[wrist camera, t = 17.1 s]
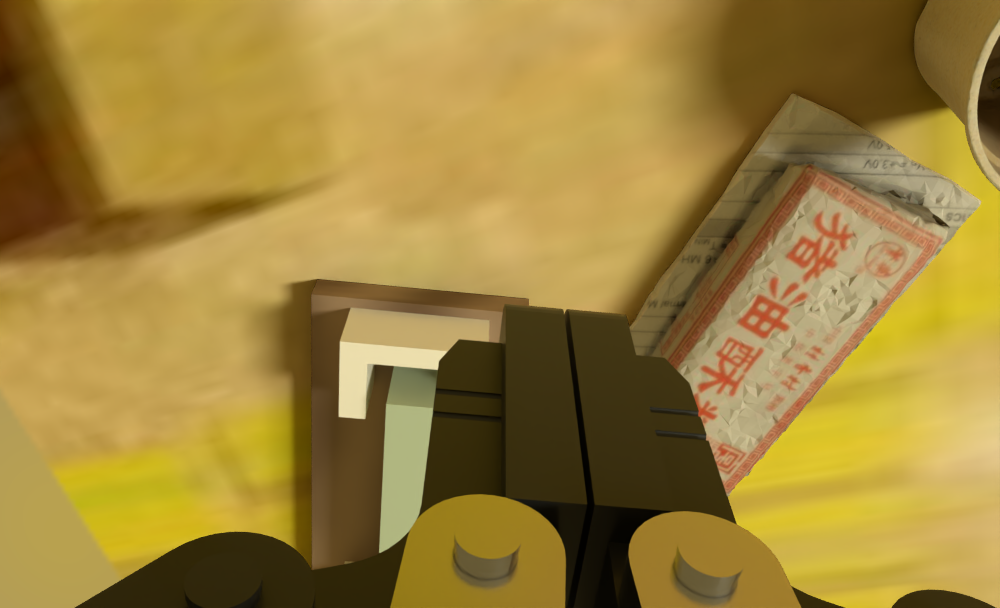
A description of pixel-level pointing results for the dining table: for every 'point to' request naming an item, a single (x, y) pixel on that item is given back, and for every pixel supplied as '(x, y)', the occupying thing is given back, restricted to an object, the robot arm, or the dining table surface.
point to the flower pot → (965, 70)
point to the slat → (405, 450)
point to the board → (360, 442)
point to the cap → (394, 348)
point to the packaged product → (793, 274)
